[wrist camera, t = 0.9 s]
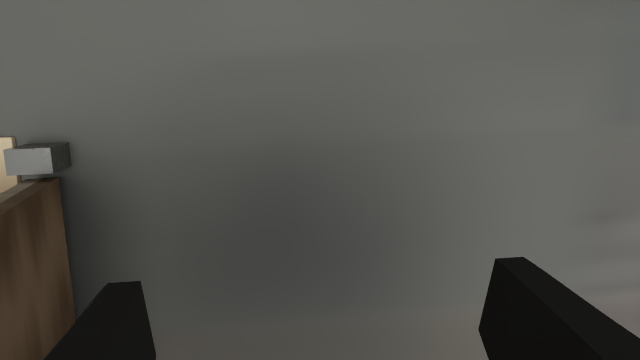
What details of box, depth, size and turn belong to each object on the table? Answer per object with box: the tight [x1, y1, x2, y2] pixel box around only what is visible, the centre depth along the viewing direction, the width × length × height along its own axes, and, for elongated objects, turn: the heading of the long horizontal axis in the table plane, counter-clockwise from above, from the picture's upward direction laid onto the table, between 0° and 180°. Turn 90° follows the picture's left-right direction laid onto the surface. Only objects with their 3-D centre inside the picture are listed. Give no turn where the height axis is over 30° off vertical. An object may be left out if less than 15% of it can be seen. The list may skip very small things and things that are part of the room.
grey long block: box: [3, 143, 71, 176], centre depth 26 cm, size 17×2×3 cm, turn 2°
